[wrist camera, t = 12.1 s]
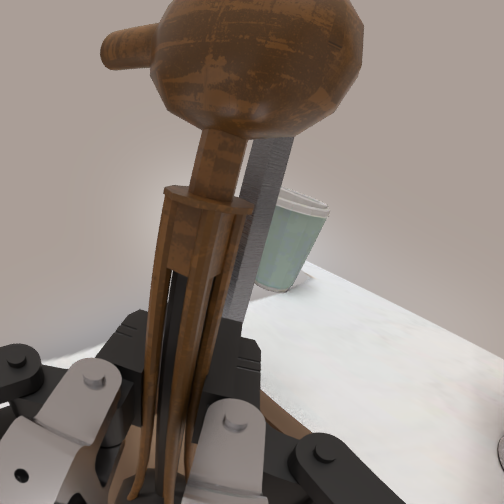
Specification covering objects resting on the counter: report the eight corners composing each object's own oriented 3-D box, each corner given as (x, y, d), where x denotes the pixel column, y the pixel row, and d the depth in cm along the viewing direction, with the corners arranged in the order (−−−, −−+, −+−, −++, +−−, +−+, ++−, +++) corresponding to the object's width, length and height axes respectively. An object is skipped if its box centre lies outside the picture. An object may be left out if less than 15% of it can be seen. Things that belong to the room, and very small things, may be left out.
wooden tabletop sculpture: (83, 500, 8) (85, -48, 2) (132, 454, 12) (192, 21, 7) (185, 565, 7) (404, -97, 1) (225, 505, 11) (394, 41, 5)
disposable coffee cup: (287, 272, 52) (311, 191, 48) (315, 303, 43) (348, 206, 38) (230, 266, 49) (253, 177, 44) (249, 298, 39) (279, 188, 35)
